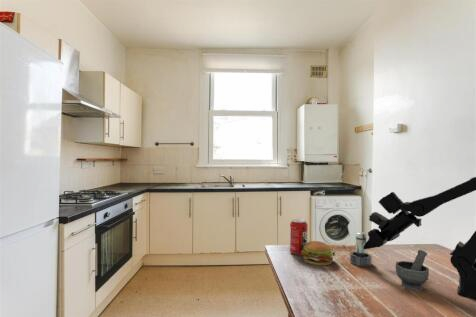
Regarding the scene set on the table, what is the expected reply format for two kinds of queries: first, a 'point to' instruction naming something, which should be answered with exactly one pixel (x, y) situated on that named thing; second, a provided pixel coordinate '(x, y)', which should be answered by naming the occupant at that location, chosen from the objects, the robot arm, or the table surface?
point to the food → (317, 253)
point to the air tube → (360, 244)
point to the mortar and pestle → (413, 272)
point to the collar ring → (361, 260)
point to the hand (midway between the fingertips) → (368, 245)
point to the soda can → (298, 235)
